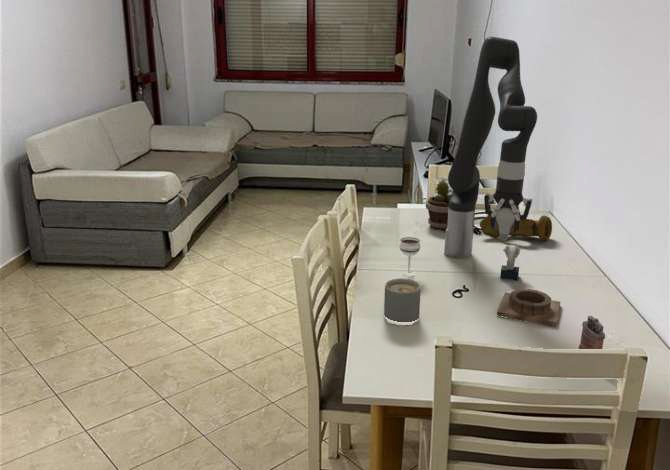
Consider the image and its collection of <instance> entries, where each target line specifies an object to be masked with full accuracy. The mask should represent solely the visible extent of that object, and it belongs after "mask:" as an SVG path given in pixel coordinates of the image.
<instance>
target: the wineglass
mask: <svg viewBox="0 0 670 470" xmlns="http://www.w3.org/2000/svg"><path fill="white" fill-rule="evenodd" d="M399 241H400V244H399V250H400V252H401V253H402V254H403V255H405V256H407V263H408V264H407V265H408V267H407V269H408V270H407V271H408V273H411V272H412V271H410V267H411V258H412V257H413V256H415V255H417V254H418V253H419V251H420V249H421V244H420V243H421V239H419V238H417V237H413V236H404V237H402V238H400V239H399ZM409 271H410V272H409Z"/></svg>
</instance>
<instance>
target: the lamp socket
mask: <svg viewBox="0 0 670 470" xmlns="http://www.w3.org/2000/svg"><path fill="white" fill-rule="evenodd" d="M560 308H561V301H559V300H554V299H552V297H550V295H548V294H547V293H545V292H542V291H541V290H537V289H531V288H518V289H515V290H512V291H510V292H504V293H503V296H502V298H501V300H500V304H499V306H498V308H497V311H496V316H497V315H498V316H503V317H507V318H506V319H509V318H512V319H511V320H514V319H516V321H519V320H521V321H520V322H525V321H527V323H530V322H532V323H531V324H536V323H538V324H537V325H541V324H542V326H547V325H548V327H552V326H553V327H554V328H557V323H558V319H557V318H559V313H560ZM498 316H497V317H498ZM503 317H502V318H503Z"/></svg>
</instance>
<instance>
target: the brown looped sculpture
mask: <svg viewBox="0 0 670 470" xmlns="http://www.w3.org/2000/svg"><path fill="white" fill-rule="evenodd" d="M486 215H487V216H486V217H485V218H483V219H481V221H480V222H479V227H480V230H481V232H482V234H483V235H484V236H487V237H490V238H493V239H500V238H499V234H500V232H499V225H498V223H497V220H496V227H495V229H492V227H491V226H490V222H491V216H490V215H488V214H486ZM552 222H553V221H552V220H551V218H550V217H549V216H548V215H541V216H540V217H539V219H538V220H535V219H531V218H527V219H526V220H524V219H523V220H521V221H520V228H519V230H518V231H517V232H514V224H515V222H514V224H513V225H512V227H511V229H510V233H509V235H508V236H510V237H526V238H528V237H529V238H530V237H538V238H539V240H540V241H542V242H546V241H548V240H549V239H550V237H551V236H552V233H553V223H552Z"/></svg>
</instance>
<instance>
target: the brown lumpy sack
mask: <svg viewBox="0 0 670 470" xmlns="http://www.w3.org/2000/svg"><path fill="white" fill-rule="evenodd" d="M580 335H581V336H580V341H579V346H578V350H579V349H602V350H603V348H604V347H603V345H604V340H605V339H606V333H605V332H604V325H603V324H602V323H600V321H599V318H595V317H594V316H593V315H587V320H585V321H582V330H581V334H580Z"/></svg>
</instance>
